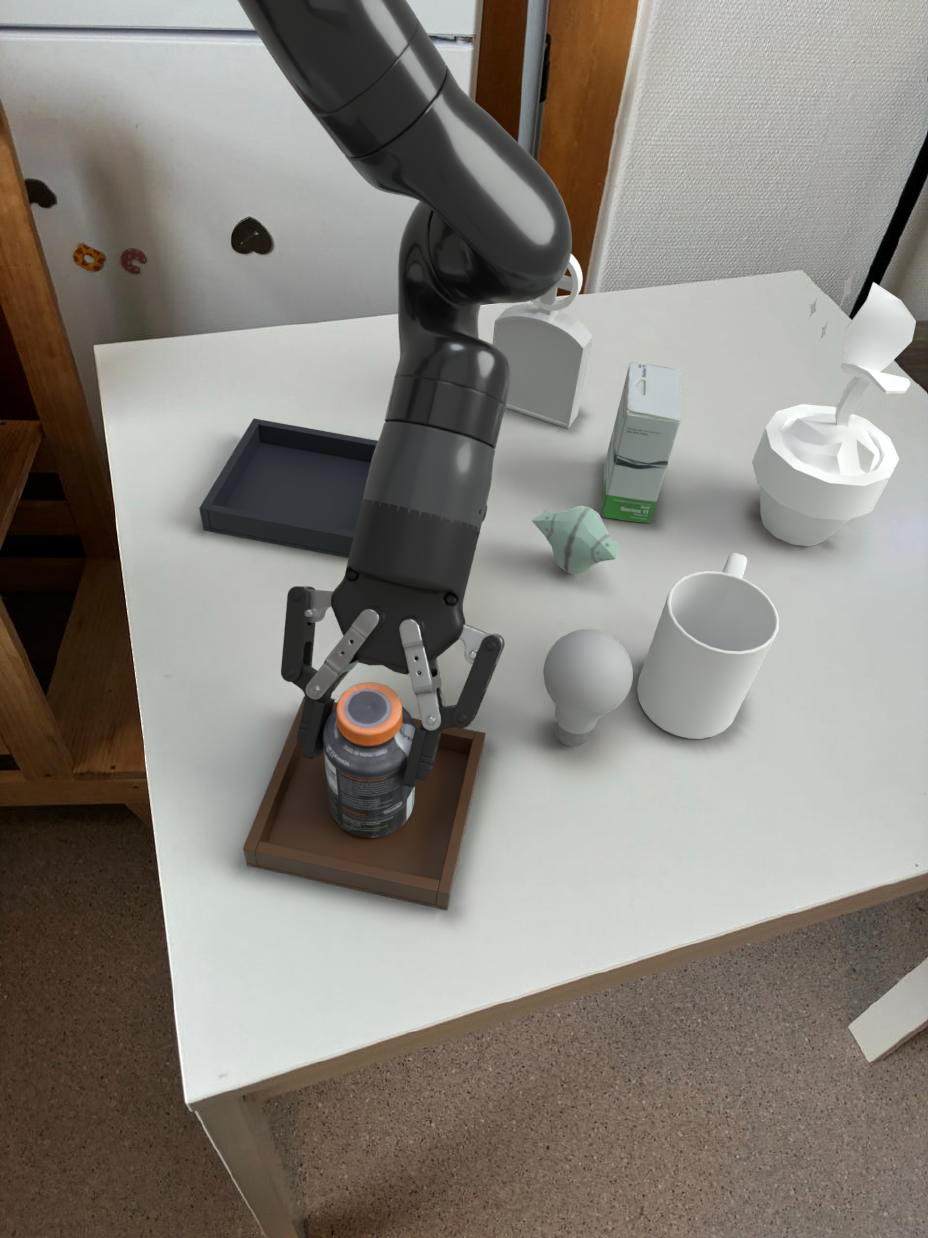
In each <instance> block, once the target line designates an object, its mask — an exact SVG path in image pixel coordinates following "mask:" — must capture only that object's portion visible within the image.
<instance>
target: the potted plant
mask: <svg viewBox="0 0 928 1238" xmlns="http://www.w3.org/2000/svg"><path fill="white" fill-rule="evenodd" d="M857 265H858V264H856V265H855V267H854V268H853V271H852V273H851V274H850V276H849V277H848V279H843V283H844V288H843V289H844V290H843V293H842V298H841V301H840V305H839V308H838V310H840V309H841V307H842V305H843V303H844V301H845V299H846V298H847V297H848V295H852V283H853V278H854V275H855V271H856V269H857ZM817 300H818V298H816V299H815V301H814V302H813V303H812V304H810V303H809V304H808V305H809V307H810V314H809V320H810V319H811V317H812V316H813V314H814V313H817V308H816V305H817ZM916 324H917V320H916V319H915V318H914V316H913V314H912V313H911V312H910V310H909V309H908V308H907V306H906V305H905V304H904V302H903V301H902V299H900V298H898V297H897V296H896V295H894V294H892V293H890V292H889V291H888V290H886V289H884V288H883V287H882V286H880V285H879V284H877V283H876V282H874V281H873V282H872V284H871V287H870V289H869V292H868V295H867V297H866V300H865V302H864V303H863V304H862V305H861V306H860V308H859V310H858V311H857V313H856V314H855V315H854V317H853V318H852V319H851V321H850V322H849V324H848V325H847V327H846V328H845V330H844V334H843V342H842V348H841V349H842V350H841V351H842V354H843V358H844V362H841V364H840V367H841V369H842V371H843V372H844V373H846V374H848V375H850V376H853V378H851V380H850V381H849V382H848V383H847V384H846V386H845V388H844V389H843V391H842V394H841V396H840V398H839V400H838V401H837V405H836V407H835V406H830V405H829V406H827V405H826V406H825V405H818V404H817V405H816V404H805V403H801V404H797V405H793V406H790V407H787V408H783V409H779V410H777V411H775V414H774V415H773V416H772V417H771V419H770V420H769V422H768V423H767V424H766V425H765V427H764V429H763V432H762V435H761V437H760V440H759V443H758V444H757V448H756V451H755V453H754V456H753V458H752V461H751V465H752V468H753V471H754V475H755V480H756V483H757V484H758V486H759V512H760V513H759V514H760V518H761V522H762V526H763V527H764V528H766V530H767V531H768V532H769V533H770V534H771V535H773V536H774V537H775V538H776V539H778V540H781V541H783V542H785V543H787V544H790V545H792V546H805V547H813V546H816V545H818V544H821V543H823V542H826V541H827V540H828V539H829V538H830V537H832V536H833V535H834V534H836V532H838V531H839V530H840V529H841V528H842V527H843V526H845V524H847V523H848V522H849V521H851V520H852V519H854V518H858V517H860V516H863V515H866V514H869V513H872V512H873V510H874V508H875V507H876V505H877V503H878V501H879V499H880V497H881V495H882V493H883V491H884V489H885V488H886V486H887V484H888V482H889V480H890V478H891V477H892V475H893V473H894V470H895V469H896V467H897V465H898V463H899V461H900V457H899V455H898V452H897V451H896V449H895V446H894V444H893V441H892V439H891V437H889V436H888V435H887V434H886V433H885V432H883V431H882V430H881V429H880V428H878V427H877V426H876V425H875V424H873V423H872V422H871V421H869V420H868V419H866V418H864V417H863V416H859V415H857V414H854V413H853V412H854V410H855V408H856V407H857V405H858V403H859V401H860V400H861V398H862V396H863V395H864V393H865V391H866V389H867V387H868V386H869V384H872V385H875V386H876V387H877V388H878V389H879V390H880V391H881V392H882V393H883V394H887V395H890V394H893V395H894V394H901V395H902V394H903V395H904V394H906V392H907V390H908V389H909V388H910V386H911V385H912V383H911V381H910V380H909V378H908V377H905V376H904V377H903V376H900V375H895V374H890V373H887V372H882V371H883V370H884V369H886V368H887V367H888V366H889V365H890V364H892V362H894V360H895V359H896V358H897V357H898V356H899V355H900V354H901V353H902V352H903V351H904V350H905V349H906V348H907V347H908V346H910V344H911V343H912V342H913V338H914V335H915V329H916ZM827 326H828V323H825V325H824V326H823V327H821V336H820V339H819V340H820V341H819V342H821V341H822V339H823V338H824V336H826V330H827V329H826V328H827Z"/></svg>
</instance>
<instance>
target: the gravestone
mask: <svg viewBox="0 0 928 1238" xmlns="http://www.w3.org/2000/svg"><path fill="white" fill-rule="evenodd" d="M567 270H568V271H569V273H570V276H568V275H565V274H564V276H563V277H562V279H561V281H560V282H559V283H558V284H557V286H556V287H555V288H554V289H553V290H551V291H550V292H549V293H547V294H546V295H544V296H542V297H540V298H537V299H534V300H531V301H530V302H531V303H520V304H519V303H518V304H515V305H512V306H509V307H507V308H505V309H504V310H503V312H502V313H501V314H500V315H499V316H498V317H497V318H496V319H495V320H494V323H493V324H494V325H493V333H492V343H491V344H492V345H494V346H496V347H497V348H498V349H500V350H501V351H502V352H503V353H504V354H505V355H506V356H507V358H508V360H509V362H510V364H511V385H510V390H509V395H508V399H507V403H506V406H505V409H509V410H511V411H515V412H517V413H520V414H523V415H527V416H528V417H529V416H530V417H532V418H535V419H539V420H541V421H544V422H548V423H550V424H553V425H557V426H560V427H562V428H565V429H570V427H571V426H572V425H573V423H574V422H575V420H576V419H577V417H578V416H579V411H580V406H581V400H582V396H583V390H584V386H585V380H586V376H587V370H588V364H589V359H590V354H591V349H592V343H593V338H594V335H593V334H592V333H591V331H590V330H589V329H588V328H587V327H586V325H585V324H583V323H582V322H581V321H579V319H577V318H575V317H574V316H572V315H570V314H568V313H566V312H564V311H561V310H564V309H566V308H568V307H569V306H570V305H571V304H572V303H573V302H574V300H575V299H576V298H577V297H578V295H579V294H580V292H581V290H582V286H583V279H584V278H583V272H582V271H583V270H582V267H581V265H580V263H579V261H578V260H577V258H576V257H575V256H574V255H573V254H572V253H571V256H570V261H569V265H568V267H567ZM558 289H561V290H565V291H567V292H570V294H569V295H568V296H566V297H565V298H561V299H557V295H558Z"/></svg>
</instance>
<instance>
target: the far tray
mask: <svg viewBox="0 0 928 1238" xmlns="http://www.w3.org/2000/svg"><path fill="white" fill-rule="evenodd" d="M377 443H378V440H376V439H372V438H365V437H360V436H355V435H349V434H344V433H343V434H342V433H337V432H332V431H326V430H321V429H315V428H309V427H304V426H298V425H293V424H288V423H283V422H276V421H272V420H271V421H270V420H265V419H260V418H253V419H252V420H251V422H250V423H249V425H248V427H247V429H246V430H245V432H244V433H243V435H242V437H241V438H240V440H239V441H238V444H237V445H236V446H235V448H234V450H233V451H232V453H231V455H230V456H229V458H228V460H227V461H226V463H225V465H224V466H223V467H222V470H221V471H220V473H219V475H218V476H217V478H216V480H215V481H214V483H213V484H212V486H211V488H210V489H209V491H208V493H207V494H206V495H205V497H204V499H203V501H202V503H201V504H200V506H199V507H198V510H199V515H200V520H201V525H202V530H203V531H208V532H211V533H216V534H217V533H218V534H223V535H228V536H233V537H238V538H243V539H247V540H248V539H249V540H253V541H259V542H263V543H264V542H265V543H270V544H275V545H278V546H279V545H280V546H285V547H291V548H296V549H301V550H306V551H311V552H316V553H322V554H327V555H333V556H338V557H343V558H347V559H348V558H349V554H350V549H351V545H352V541H353V536H354V532H355V528H356V523H357V519H358V515H359V510H360V506H361V502H362V498H363V493H364V489H365V484H366V480H367V476H368V472H369V467H370V463H371V460H372V456H373V453H374V451H375V448H376V445H377Z"/></svg>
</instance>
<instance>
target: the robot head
mask: <svg viewBox="0 0 928 1238" xmlns="http://www.w3.org/2000/svg"><path fill="white" fill-rule="evenodd" d="M531 522H532V523H533V524H534V525H535V527H537V529H538V530H539V531H540V532H541V534H542V535H543V536H544V537H545V539H546V540H547V542H548V544H549V546H550V547H551V550H552V554H553V555H552V556H553V559H554V560H555V562H556V565H558V567H559V568H561V569H562V570H563V571H565V572H566V573H568V574H572V575H577V576H578V575H580V574H583V573H586V572H588V571H590V570H591V569H592V567H594V566H595V565H597V564H598V563H601V562H607V561H611V560H616V559H617V555H618V551H619V545H620V543H619V542H618V541H616V540H615V539H614V538H612V537H611V536H610V533H609V531H608V529H607V527H606V525H605V524H604V520H603V519H602V517H601V515H600V513H599V512H598V511H596V510H594V509H593V508H592V507H590V506H585V505H578V506H574V507H573V508H570V509H569V508H568V509H566V510H564V511H559V512H553V511H549V510H543V511H542V512H541V513H539V514H538V515H537V516H536V517H534V518H533V519H532V520H531Z"/></svg>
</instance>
